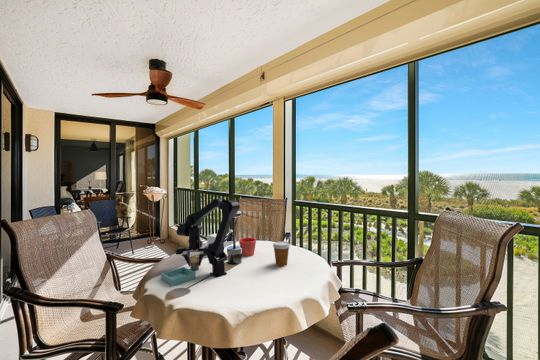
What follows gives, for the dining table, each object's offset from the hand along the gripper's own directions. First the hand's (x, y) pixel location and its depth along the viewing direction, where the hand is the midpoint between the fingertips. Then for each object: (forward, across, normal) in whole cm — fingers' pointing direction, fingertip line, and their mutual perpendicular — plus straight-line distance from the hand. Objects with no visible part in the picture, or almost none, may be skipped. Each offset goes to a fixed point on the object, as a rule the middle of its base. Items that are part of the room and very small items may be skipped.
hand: (194, 266), depth 134 cm
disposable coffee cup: (+2, -47, -6) cm, 48 cm away
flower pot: (+2, -27, -25) cm, 37 cm away
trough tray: (+2, +4, +13) cm, 14 cm away
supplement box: (+2, -6, -27) cm, 28 cm away
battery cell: (+2, 0, 0) cm, 2 cm away
